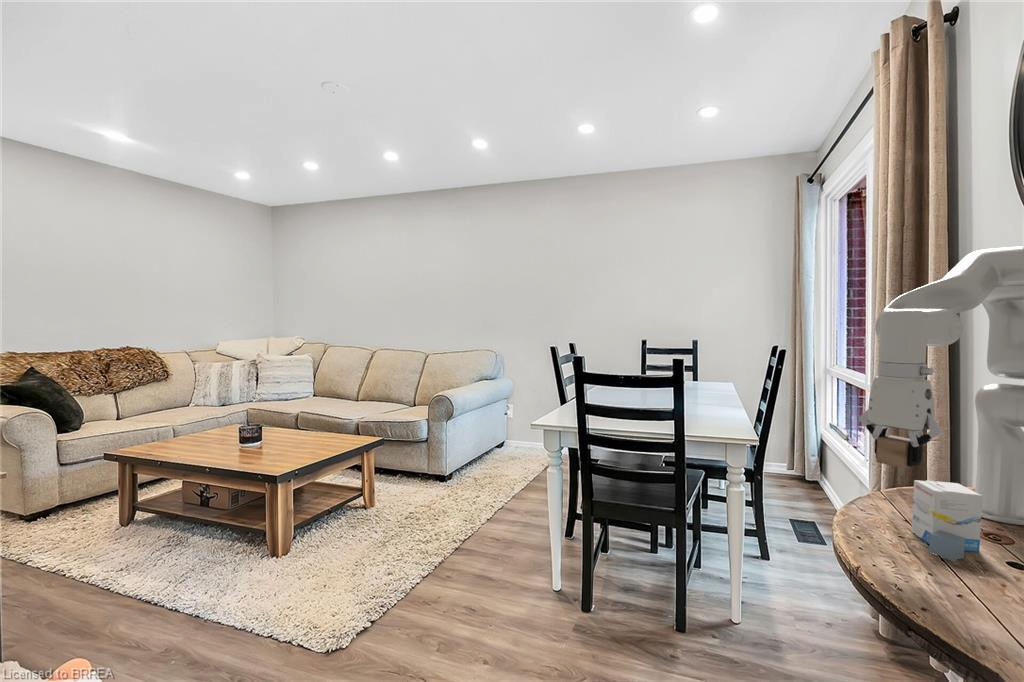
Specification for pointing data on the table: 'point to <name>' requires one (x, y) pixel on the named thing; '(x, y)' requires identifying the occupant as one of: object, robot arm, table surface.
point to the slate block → (947, 545)
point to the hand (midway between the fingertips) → (897, 461)
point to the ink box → (947, 511)
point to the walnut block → (893, 451)
